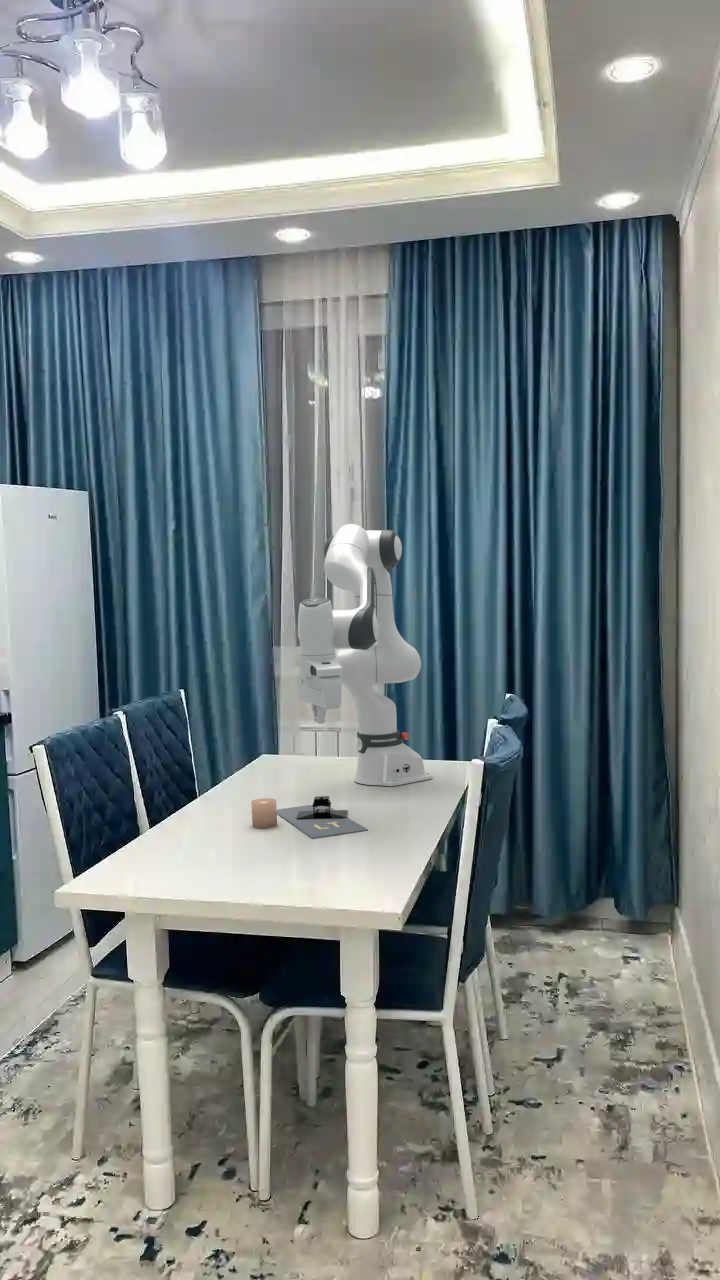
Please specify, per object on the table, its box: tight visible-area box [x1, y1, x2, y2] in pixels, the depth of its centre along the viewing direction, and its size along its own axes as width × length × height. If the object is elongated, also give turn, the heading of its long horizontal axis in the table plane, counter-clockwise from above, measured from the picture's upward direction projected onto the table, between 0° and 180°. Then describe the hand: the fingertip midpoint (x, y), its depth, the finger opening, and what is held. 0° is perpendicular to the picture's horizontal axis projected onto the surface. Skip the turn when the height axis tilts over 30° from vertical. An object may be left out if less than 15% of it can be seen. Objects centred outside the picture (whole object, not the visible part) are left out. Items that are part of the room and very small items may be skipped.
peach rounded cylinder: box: [250, 797, 278, 830], centre depth 244 cm, size 6×6×6 cm
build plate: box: [296, 795, 348, 820], centre depth 250 cm, size 12×7×5 cm, turn 88°
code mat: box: [276, 804, 368, 840], centre depth 247 cm, size 14×29×1 cm, turn 23°
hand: (319, 722), depth 242 cm, fingers closed
